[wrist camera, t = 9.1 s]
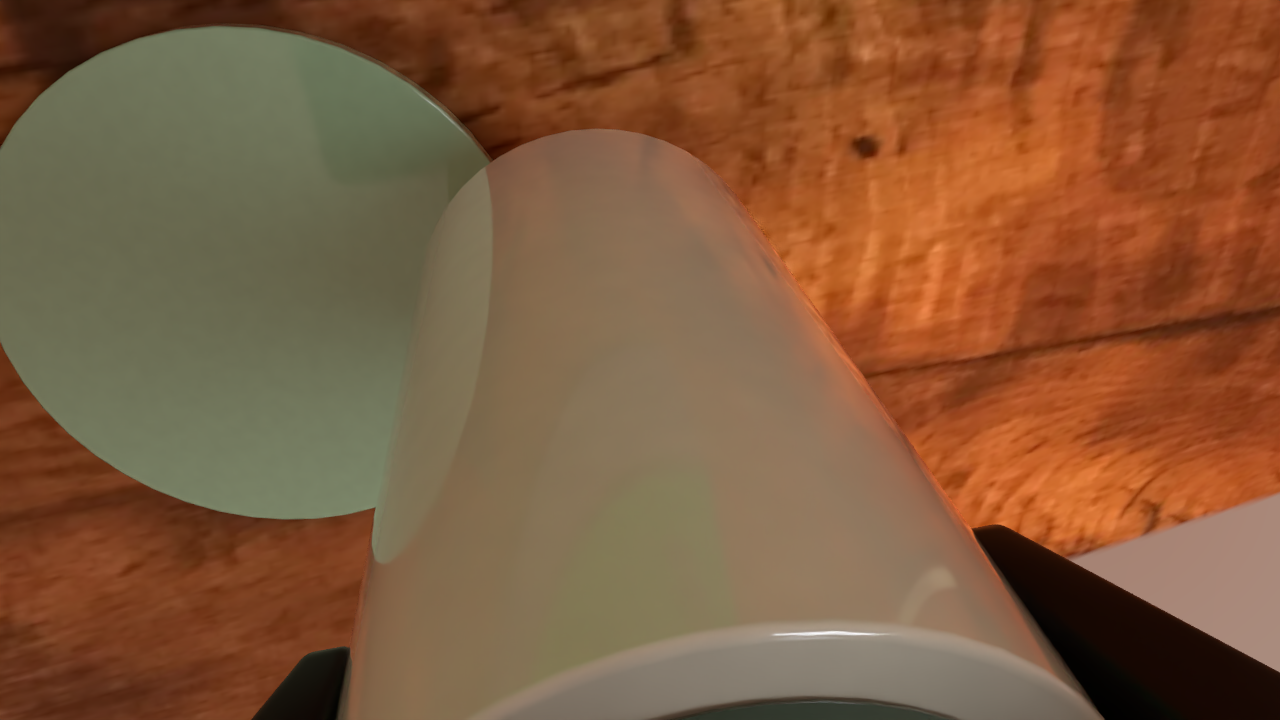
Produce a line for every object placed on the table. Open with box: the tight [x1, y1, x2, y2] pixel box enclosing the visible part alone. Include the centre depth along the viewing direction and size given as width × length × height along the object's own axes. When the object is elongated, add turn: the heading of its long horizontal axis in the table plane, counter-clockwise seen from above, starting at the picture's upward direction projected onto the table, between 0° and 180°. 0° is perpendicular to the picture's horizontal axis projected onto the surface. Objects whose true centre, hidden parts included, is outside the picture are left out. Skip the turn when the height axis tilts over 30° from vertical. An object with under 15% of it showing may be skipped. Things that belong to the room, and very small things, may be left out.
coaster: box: [0, 23, 493, 519], centre depth 19 cm, size 11×11×1 cm
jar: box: [335, 129, 1105, 720], centre depth 11 cm, size 13×6×13 cm
